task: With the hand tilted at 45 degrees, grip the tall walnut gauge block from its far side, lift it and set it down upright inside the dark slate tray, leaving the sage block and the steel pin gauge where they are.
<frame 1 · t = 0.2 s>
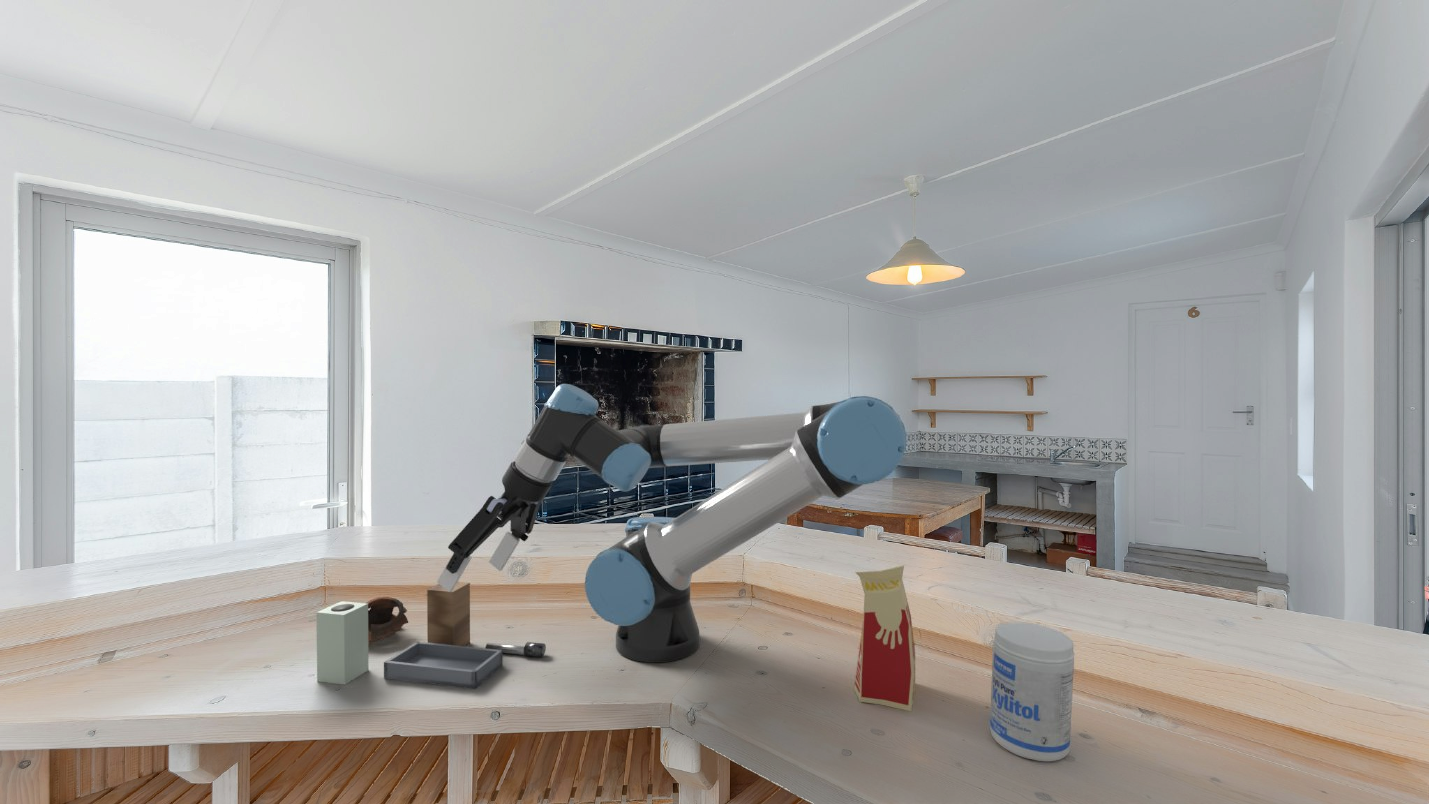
hand: (471, 575, 103), 15 cm above the counter, tool tilted 30°, fingers open, 13 cm apart
walnut block: (449, 647, 109), on the counter
pottery mug: (375, 638, 113), on the counter
milk carton: (883, 693, 95), on the counter
supplement tub: (1029, 744, 82), on the counter
sage block: (343, 675, 98), on the counter
pin gauge: (516, 653, 107), on the counter
slate tray: (444, 671, 100), on the counter
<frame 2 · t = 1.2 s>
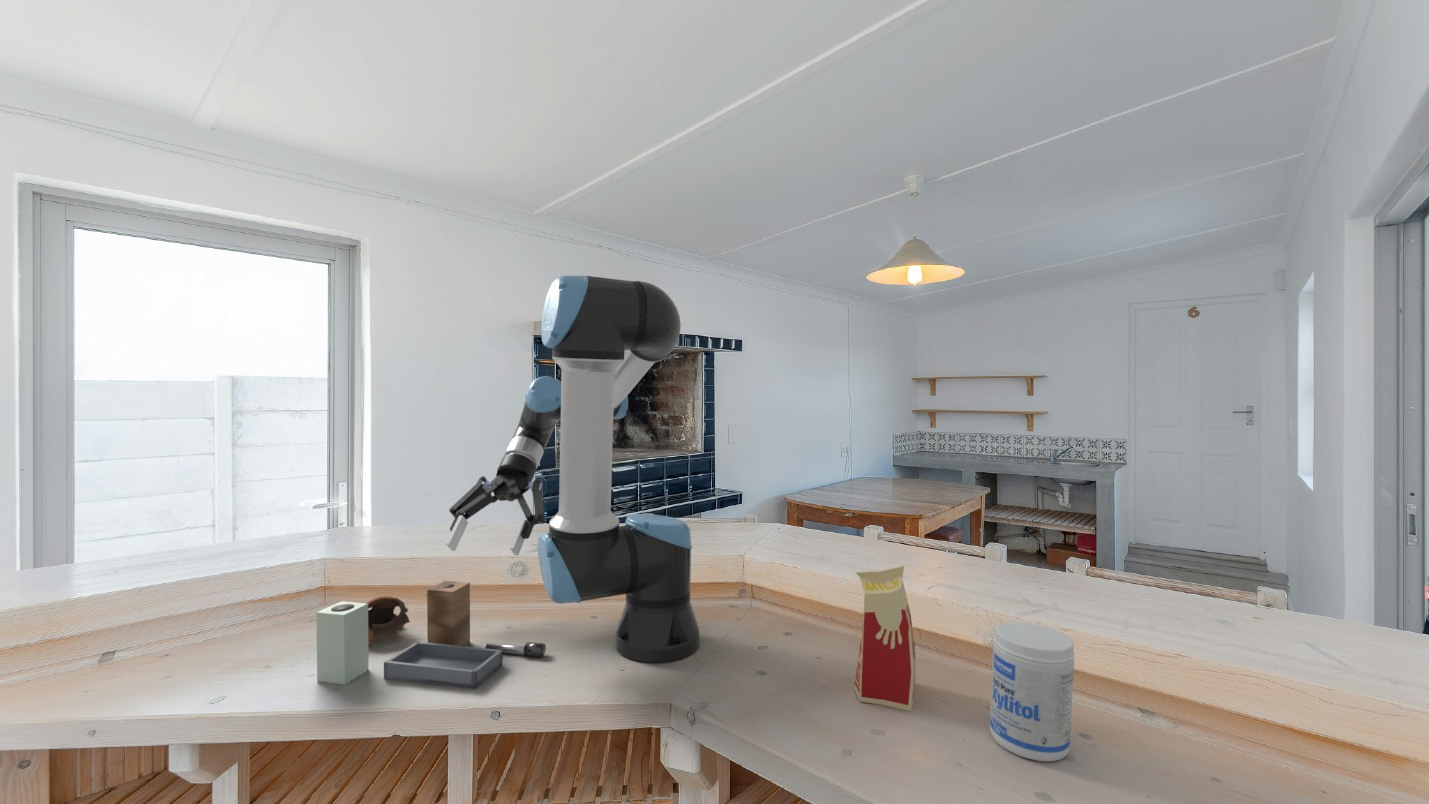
hand: (481, 549, 119), 15 cm above the counter, tool tilted 45°, fingers open, 13 cm apart
nothing on the counter moved.
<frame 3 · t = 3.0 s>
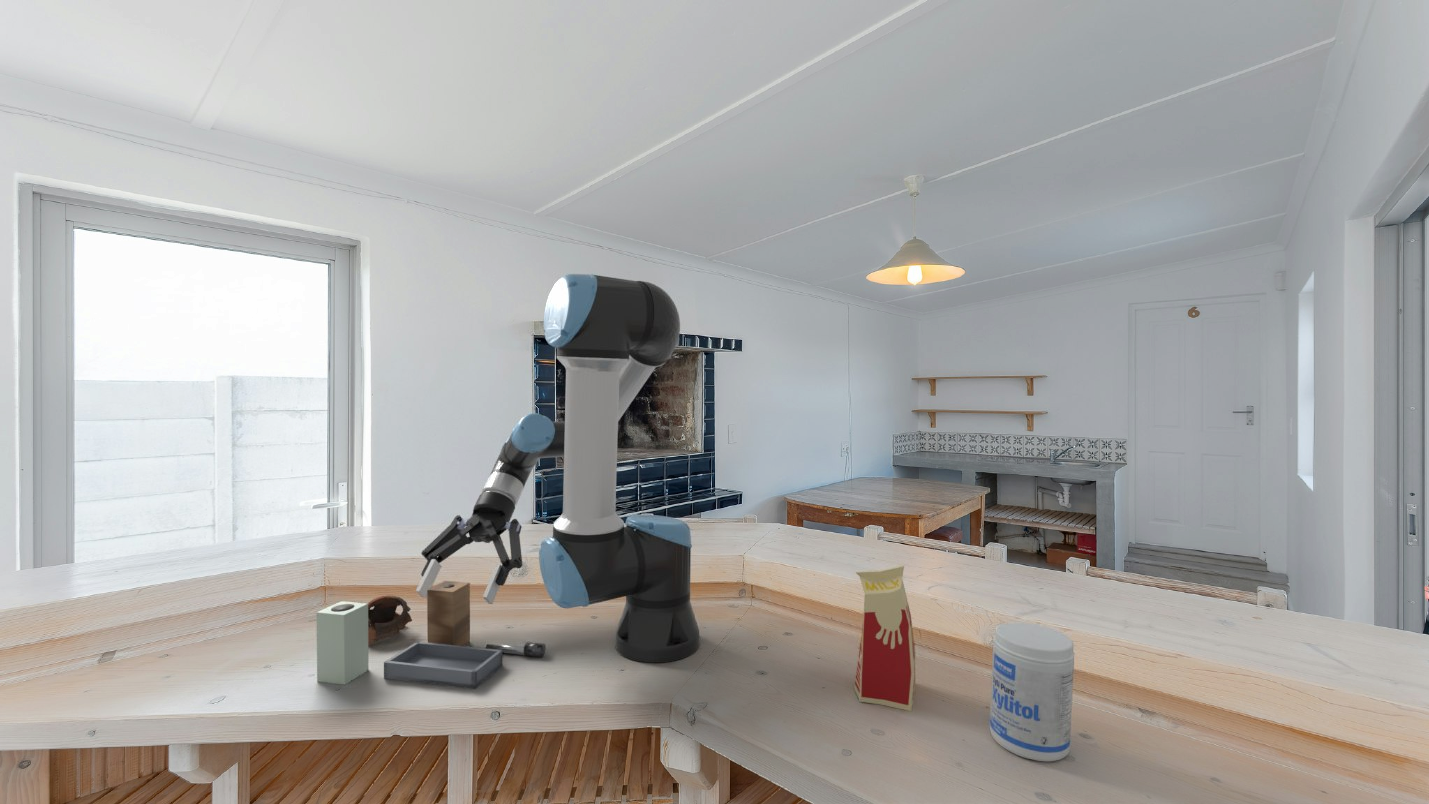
hand: (453, 597, 112), 8 cm above the counter, tool tilted 45°, fingers open, 13 cm apart
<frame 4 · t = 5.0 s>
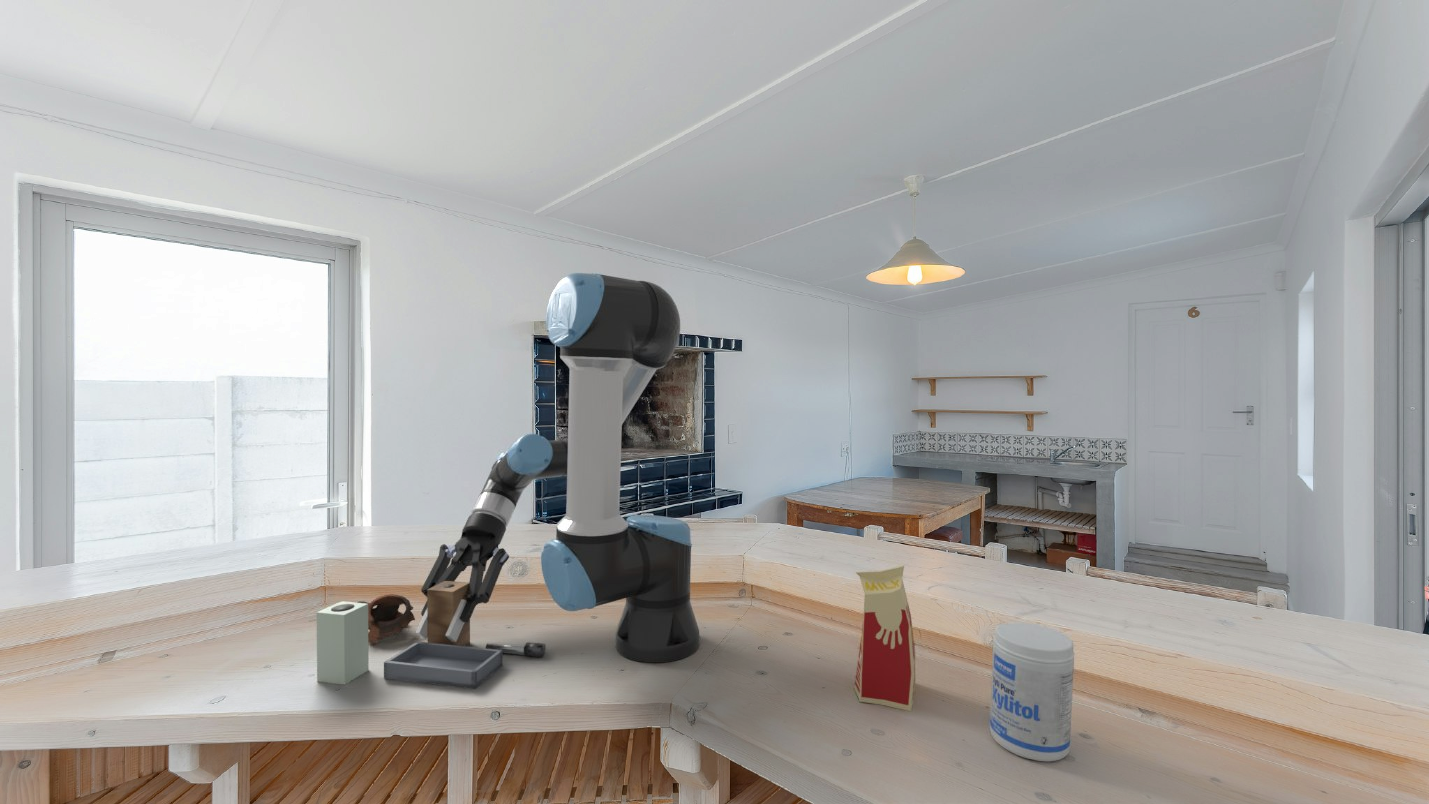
hand: (435, 637, 105), 3 cm above the counter, tool tilted 45°, fingers closed on walnut block, 5 cm apart
walnut block: (449, 647, 109), on the counter, touching gripper
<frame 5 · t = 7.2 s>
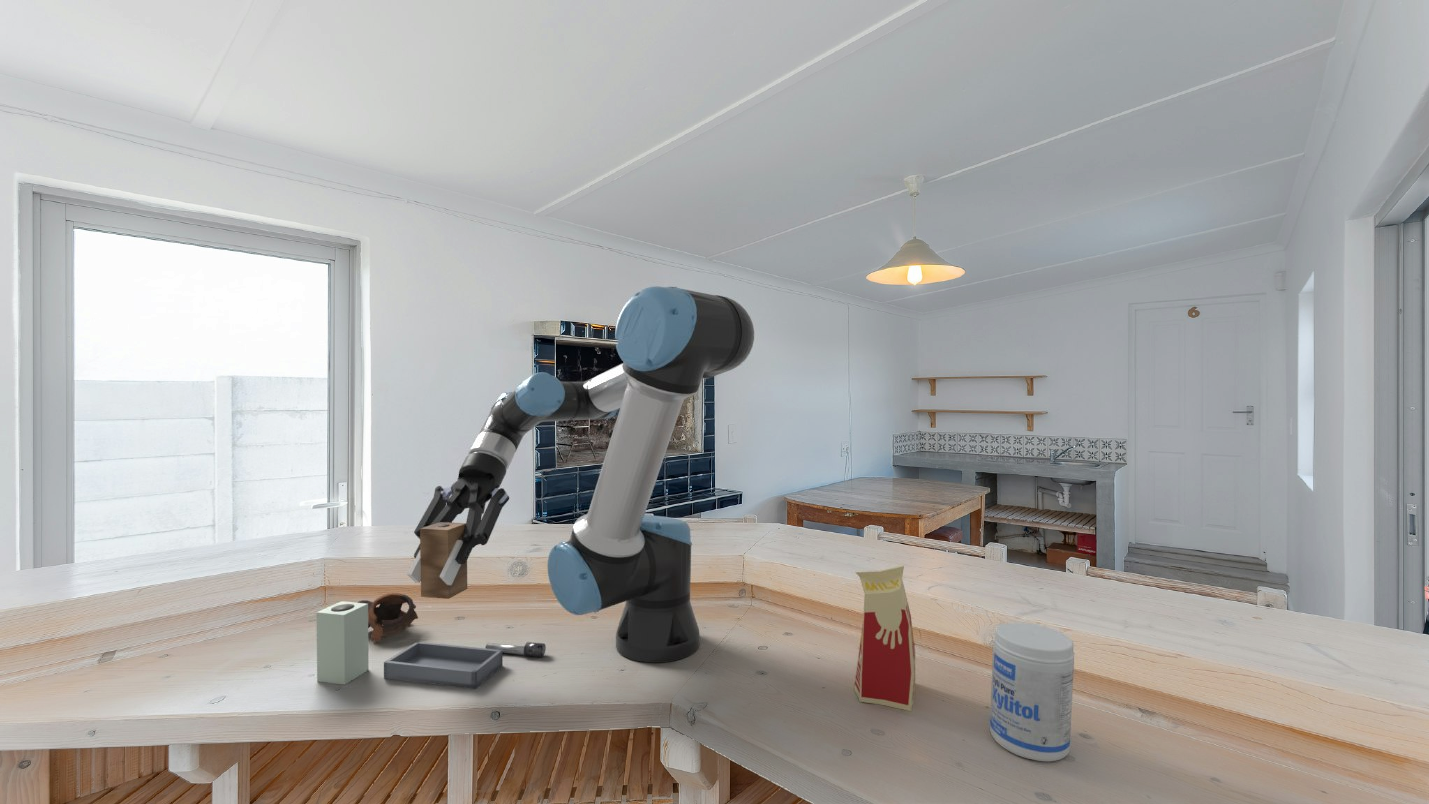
hand: (429, 579, 97), 16 cm above the counter, tool tilted 45°, fingers closed on walnut block, 5 cm apart
walnut block: (444, 592, 100), point 13 cm above the counter, touching gripper
when the fingers open (5 cm above the counter, at t = 9.6 s): walnut block drops 1 cm, resting on slate tray.
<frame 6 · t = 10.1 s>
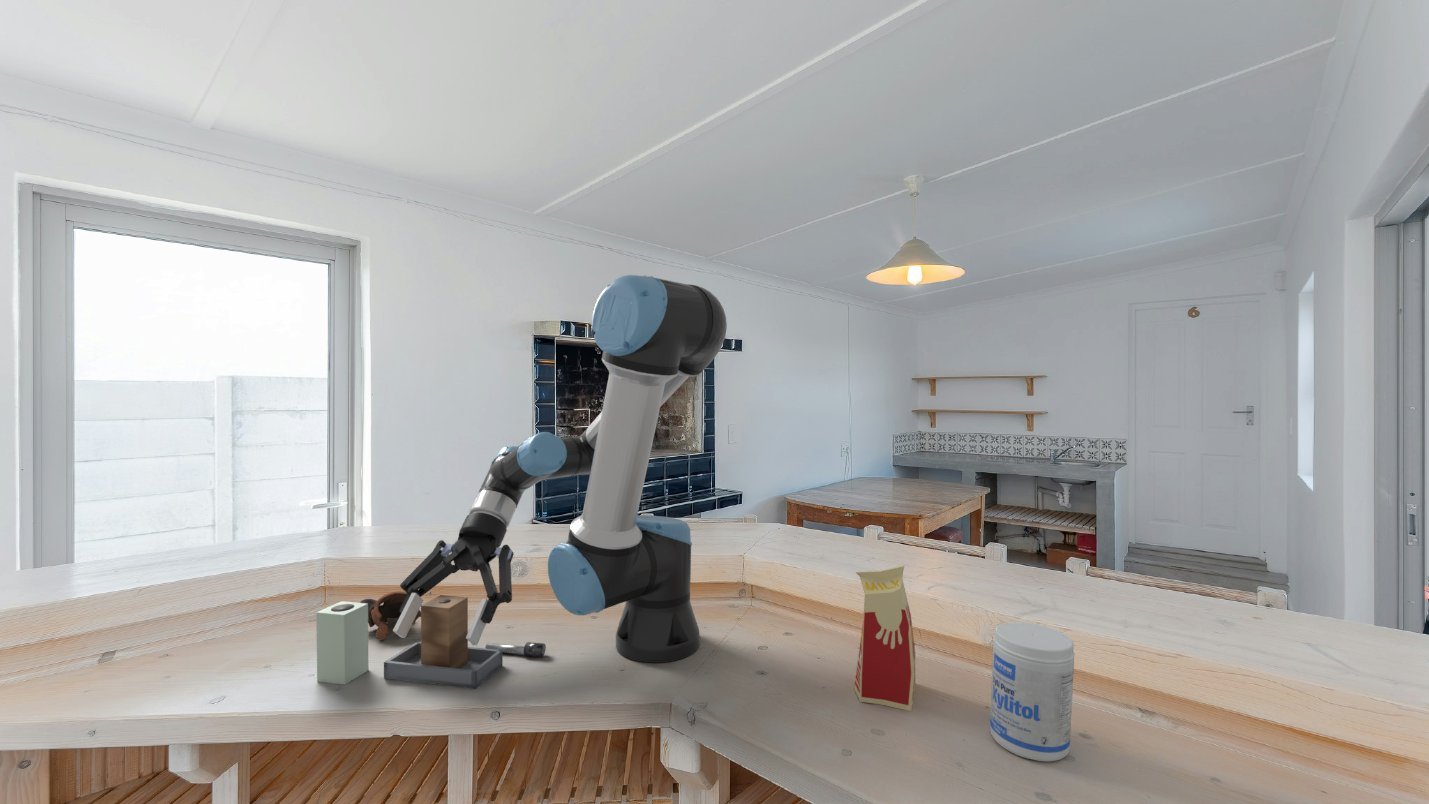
hand: (434, 638, 97), 7 cm above the counter, tool tilted 45°, fingers open, 12 cm apart
walnut block: (444, 668, 100), point 1 cm above the counter, touching slate tray
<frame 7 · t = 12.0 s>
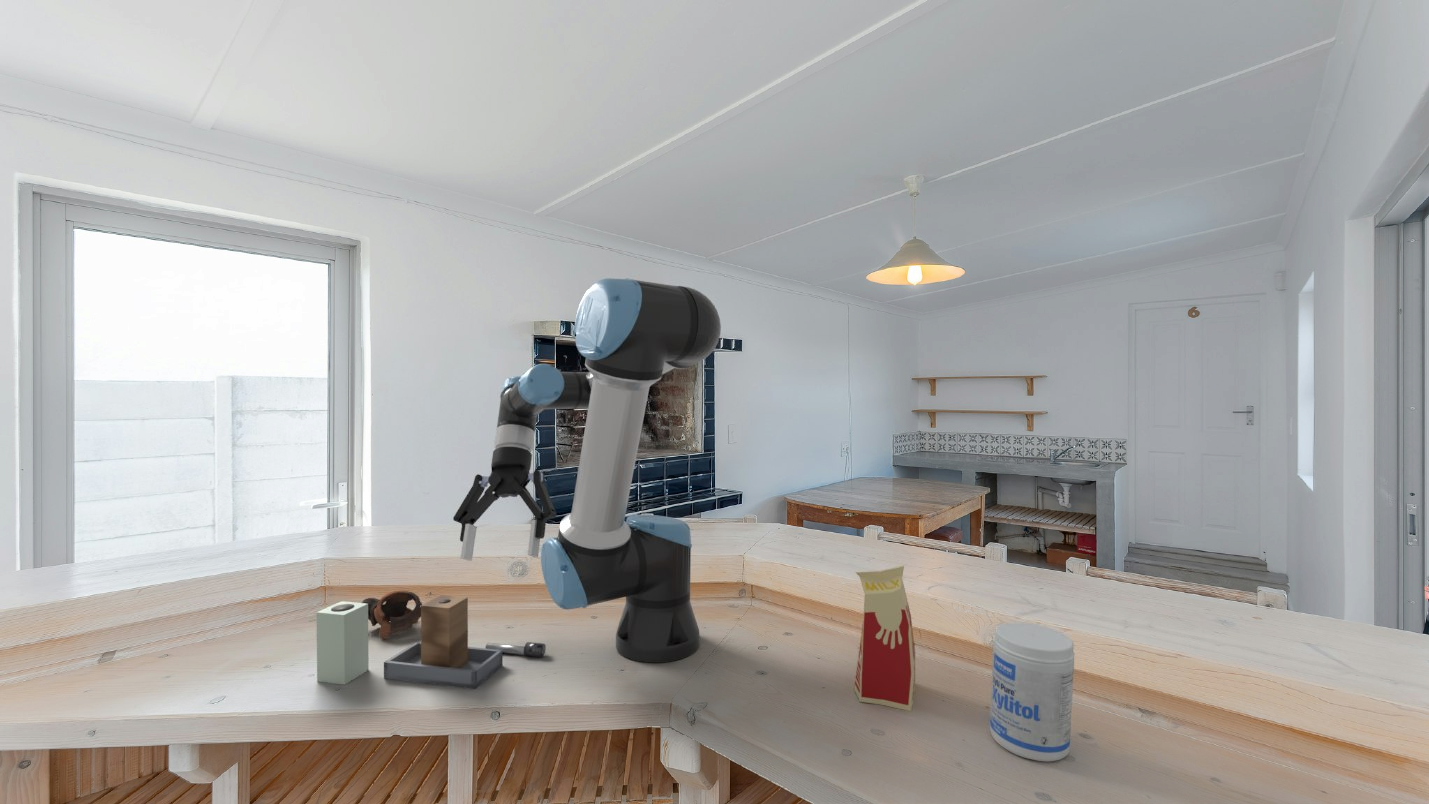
hand: (499, 558, 115), 14 cm above the counter, tool tilted 25°, fingers open, 13 cm apart
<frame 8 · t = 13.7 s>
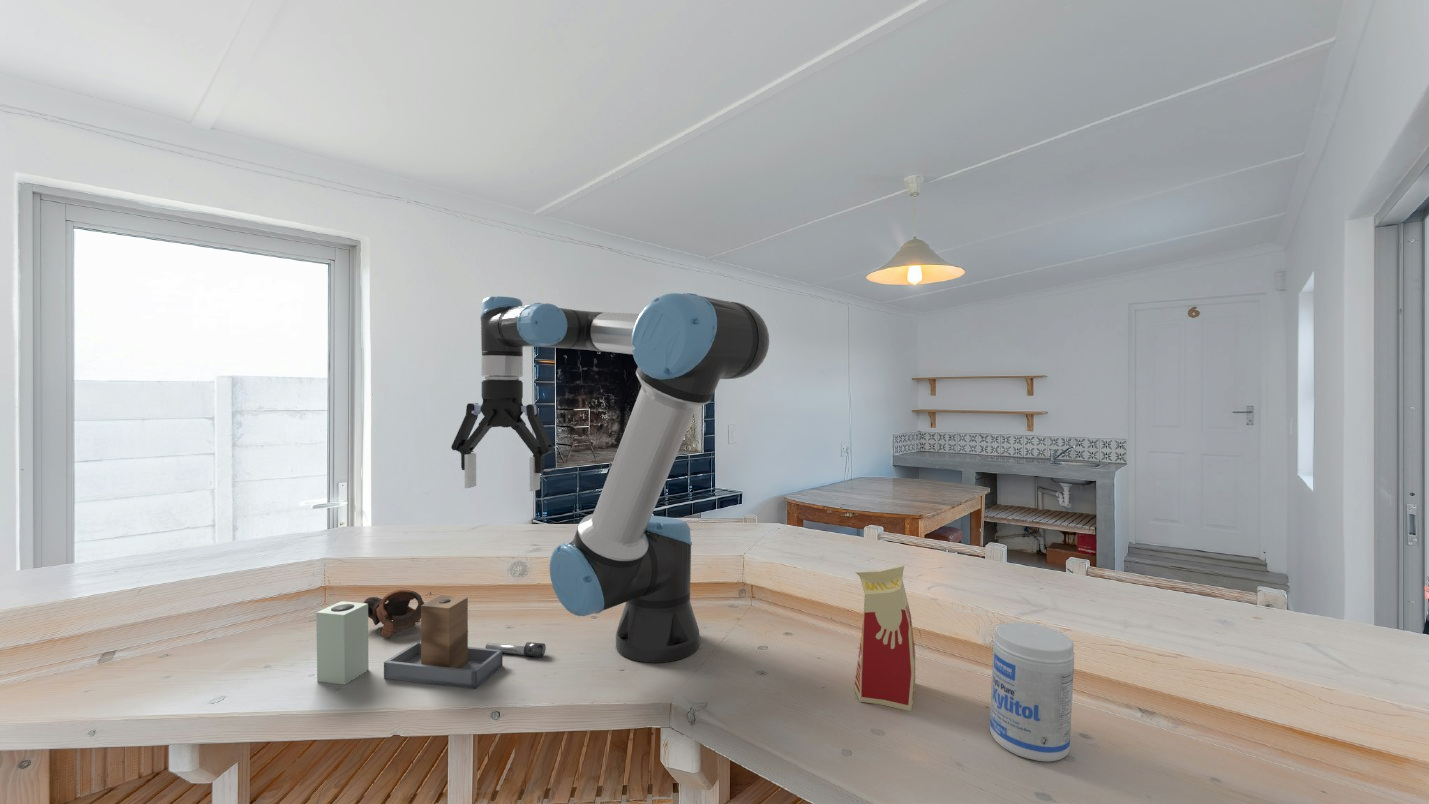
hand: (502, 488, 118), 27 cm above the counter, tool pointing down, fingers open, 13 cm apart
at the end: walnut block inside the target area on the slate tray (0.0 cm from its centre), point 0.6 cm above the slate tray's base; walnut block tilted 0°; the gripper is holding nothing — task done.
